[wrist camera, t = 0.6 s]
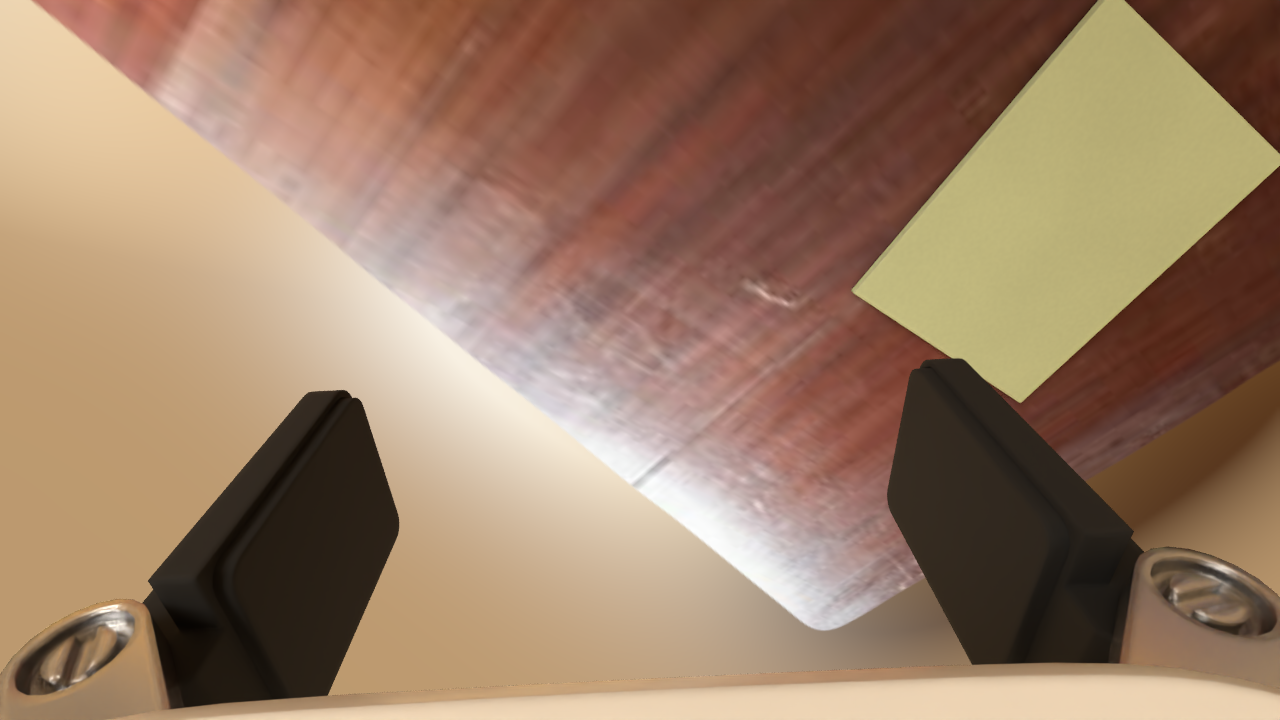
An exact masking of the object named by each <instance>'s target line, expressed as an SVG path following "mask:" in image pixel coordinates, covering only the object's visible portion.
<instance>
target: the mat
mask: <svg viewBox="0 0 1280 720" xmlns="http://www.w3.org/2000/svg"><path fill="white" fill-rule="evenodd" d="M1279 166H1280V154H1279V153H1278V152H1277V151H1276V150H1275V149H1274V148H1273V147H1272V146H1271V145H1270V144H1269V143H1268V142H1267V141H1266V140H1265V139H1264V138H1263V137H1262V136H1261V135H1260V134H1259V133H1258V132H1257V131H1256V130H1255V129H1254V128H1253V127H1252V126H1251V125H1250V124H1249V123H1248V122H1247V121H1246V120H1245V119H1244V118H1243V117H1242V116H1241V115H1240V114H1239V113H1238V112H1237V111H1236V110H1235V109H1234V108H1233V107H1232V106H1231V105H1230V104H1229V103H1227V102H1226V101H1225V100H1224V99H1223V98H1222V97H1221V96H1220V95H1219V94H1218V93H1217V92H1216V91H1215V90H1214V89H1213V88H1212V87H1211V86H1210V85H1209V84H1208V83H1207V82H1206V81H1205V80H1204V79H1203V78H1202V77H1201V76H1200V75H1199V74H1198V73H1197V72H1196V71H1195V70H1194V69H1193V68H1192V67H1191V66H1190V65H1189V64H1188V63H1187V62H1186V61H1185V60H1184V59H1183V58H1182V57H1181V56H1180V55H1179V54H1178V53H1177V52H1176V51H1175V50H1174V49H1173V48H1172V47H1171V46H1170V45H1169V44H1168V43H1167V42H1166V41H1165V40H1164V39H1163V38H1162V37H1161V36H1160V35H1159V34H1158V33H1157V32H1156V31H1155V30H1154V29H1153V28H1152V27H1151V26H1150V25H1149V24H1148V23H1147V22H1146V21H1145V20H1144V19H1143V18H1142V17H1141V16H1140V15H1139V14H1138V13H1137V12H1136V11H1135V10H1134V9H1133V8H1132V7H1131V6H1130V5H1129V4H1128V3H1126V2H1125V1H1124V0H1098V1H1097V2H1096V3H1095V5H1094V6H1093V7H1092V8H1091V9H1090V10H1089V12H1088V13H1087V14H1086V15H1085V16H1084V17H1083V19H1082V20H1081V21H1080V22H1079V23H1078V25H1077V26H1076V27H1075V28H1074V29H1073V30H1072V32H1071V33H1070V34H1069V35H1068V36H1067V37H1066V39H1065V40H1064V41H1063V42H1062V43H1061V44H1060V46H1059V47H1058V48H1057V49H1056V50H1055V51H1054V53H1053V54H1052V55H1051V56H1050V57H1049V59H1048V60H1047V61H1046V62H1045V63H1044V64H1043V66H1042V67H1041V68H1040V69H1039V70H1038V71H1037V73H1036V74H1035V75H1034V76H1033V77H1032V78H1031V80H1030V81H1029V82H1028V83H1027V84H1026V86H1025V87H1024V88H1023V89H1022V90H1021V91H1020V93H1019V94H1018V95H1017V96H1016V97H1015V98H1014V100H1013V101H1012V102H1011V103H1010V104H1009V105H1008V107H1007V108H1006V109H1005V110H1004V111H1003V113H1002V114H1001V115H1000V116H999V117H998V118H997V120H996V121H995V122H994V123H993V124H992V125H991V127H990V128H989V129H988V130H987V131H986V132H985V134H984V135H983V136H982V137H981V138H980V140H979V141H978V142H977V143H976V144H975V145H974V147H973V148H972V149H971V150H970V151H969V152H968V154H967V155H966V156H965V157H964V158H963V159H962V161H961V162H960V163H959V164H958V165H957V166H956V168H955V169H954V170H953V171H952V172H951V174H950V175H949V176H948V177H947V178H946V179H945V181H944V182H943V183H942V184H941V185H940V186H939V188H938V189H937V190H936V191H935V192H934V193H933V195H932V196H931V197H930V198H929V199H928V201H927V202H926V203H925V204H924V205H923V206H922V208H921V209H920V210H919V211H918V212H917V213H916V215H915V216H914V217H913V218H912V219H911V220H910V222H909V223H908V224H907V225H906V226H905V228H904V229H903V230H902V231H901V232H900V233H899V235H898V236H897V237H896V238H895V239H894V240H893V242H892V243H891V244H890V245H889V246H888V247H887V249H886V250H885V251H884V252H883V253H882V254H881V256H880V257H879V258H878V259H877V260H876V262H875V263H874V264H873V265H872V266H871V267H870V269H869V270H868V271H867V272H866V273H865V274H864V276H863V277H862V278H861V279H860V280H859V281H858V283H857V284H856V285H855V286H854V287H853V289H852V290H851V291H852V292H853V293H854V294H855V295H857V296H858V297H860V298H861V299H863V300H864V301H866V302H867V303H869V304H870V305H872V306H873V307H875V308H876V309H878V310H879V311H881V312H883V313H884V314H886V315H887V316H889V317H890V318H892V319H893V320H895V321H896V322H898V323H899V324H901V325H902V326H904V327H905V328H907V329H908V330H910V331H911V332H913V333H914V334H916V335H917V336H919V337H920V338H922V339H923V340H925V341H927V342H928V343H930V344H931V345H933V346H934V347H936V348H937V349H939V350H940V351H942V352H943V353H945V354H946V355H948V356H949V357H951V358H962V359H964V360H965V361H966V362H967V363H968V364H969V365H970V366H971V367H972V368H973V369H974V370H975V371H976V372H977V373H978V374H979V375H980V376H981V377H982V378H983V379H984V380H986V381H987V382H989V383H990V384H992V385H993V386H995V387H996V388H998V389H999V390H1001V391H1002V392H1004V393H1005V394H1007V395H1008V396H1010V397H1011V398H1013V399H1015V400H1016V401H1018V402H1019V403H1021V402H1022V401H1023V400H1025V399H1026V398H1027V397H1028V396H1029V395H1030V394H1031V393H1032V392H1033V391H1034V390H1035V389H1037V388H1038V387H1039V386H1040V385H1041V384H1042V383H1043V382H1044V381H1045V380H1046V379H1047V378H1049V377H1050V376H1051V375H1052V374H1053V373H1054V372H1055V371H1056V370H1057V369H1058V368H1059V367H1061V366H1062V365H1063V364H1064V363H1065V362H1066V361H1067V360H1068V359H1069V358H1070V357H1071V356H1073V355H1074V354H1075V353H1076V352H1077V351H1078V350H1079V349H1080V348H1081V347H1082V346H1083V345H1085V344H1086V343H1087V342H1088V341H1089V340H1090V339H1091V338H1092V337H1093V336H1094V335H1095V334H1097V333H1098V332H1099V331H1100V330H1101V329H1102V328H1103V327H1104V326H1105V325H1106V324H1107V323H1109V322H1110V321H1111V320H1112V319H1113V318H1114V317H1115V316H1116V315H1117V314H1118V313H1119V312H1121V311H1122V310H1123V309H1124V308H1125V307H1126V306H1127V305H1128V304H1129V303H1130V302H1131V301H1133V300H1134V299H1135V298H1136V297H1137V296H1138V295H1139V294H1140V293H1141V292H1142V291H1143V290H1144V289H1146V288H1147V287H1148V286H1149V285H1150V284H1151V283H1152V282H1153V281H1154V280H1155V279H1156V278H1158V277H1159V276H1160V275H1161V274H1162V273H1163V272H1164V271H1165V270H1166V269H1167V268H1168V267H1170V266H1171V265H1172V264H1173V263H1174V262H1175V261H1176V260H1177V259H1178V258H1179V257H1180V256H1182V255H1183V254H1184V253H1185V252H1186V251H1187V250H1188V249H1189V248H1190V247H1191V246H1192V245H1194V244H1195V243H1196V242H1197V241H1198V240H1199V239H1200V238H1201V237H1202V236H1203V235H1204V234H1206V233H1207V232H1208V231H1209V230H1210V229H1211V228H1212V227H1213V226H1214V225H1215V224H1216V223H1218V222H1219V221H1220V220H1221V219H1222V218H1223V217H1224V216H1225V215H1226V214H1227V213H1228V212H1230V211H1231V210H1232V209H1233V208H1234V207H1235V206H1236V205H1237V204H1238V203H1239V202H1240V201H1242V200H1243V199H1244V198H1245V197H1246V196H1247V195H1248V194H1249V193H1250V192H1251V191H1252V190H1254V189H1255V188H1256V187H1257V186H1258V185H1259V184H1260V183H1261V182H1262V181H1263V180H1264V179H1266V178H1267V177H1268V176H1269V175H1270V174H1271V173H1272V172H1273V171H1274V170H1275V169H1276V168H1278V167H1279Z"/></svg>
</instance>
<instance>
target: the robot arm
mask: <svg viewBox="0 0 1280 720" xmlns="http://www.w3.org/2000/svg"><path fill="white" fill-rule="evenodd" d="M887 499H888V505H889V509H890V511H891V514H892V515H893V517H894V519H895V521H896V523H897V525H898V527H899V529H900V530H901V532H902V534H903V536H904V538H905V540H906V542H907V544H908V545H909V547H910V549H911V551H912V553H913V555H914V557H915V558H916V560H917V562H918V564H919V566H920V568H921V570H922V572H923V573H924V575H925V577H926V579H927V581H928V583H929V585H930V587H931V588H932V590H933V592H934V594H935V596H936V598H937V599H938V602H939V603H940V605H941V607H942V609H943V611H944V613H945V615H946V617H947V618H948V620H949V622H950V624H951V626H952V628H953V630H954V631H955V633H956V635H957V637H958V639H959V641H960V643H961V645H962V646H963V648H964V650H965V652H966V654H967V656H968V658H969V659H970V661H971V663H972V665H947V666H919V667H898V668H873V669H851V670H830V671H829V670H828V671H806V672H805V671H804V672H781V673H760V674H738V675H737V674H736V675H715V676H696V677H674V678H653V679H632V680H612V681H592V682H572V683H552V684H532V685H515V686H514V685H513V686H495V687H478V688H477V687H476V688H459V689H440V690H421V691H404V692H386V693H367V694H348V695H332V696H328V693H329V691H330V689H331V687H332V684H333V682H334V680H335V677H336V675H337V673H338V671H339V668H340V666H341V664H342V661H343V659H344V657H345V655H346V652H347V650H348V648H349V646H350V643H351V641H352V639H353V636H354V634H355V632H356V630H357V627H358V625H359V623H360V620H361V618H362V616H363V614H364V611H365V609H366V607H367V604H368V602H369V600H370V597H371V595H372V593H373V591H374V589H375V586H376V584H377V582H378V579H379V577H380V575H381V573H382V570H383V568H384V566H385V564H386V561H387V559H388V556H389V554H390V552H391V550H392V548H393V545H394V543H395V541H396V538H397V536H398V531H399V517H398V513H397V510H396V507H395V504H394V501H393V497H392V494H391V491H390V488H389V485H388V482H387V479H386V476H385V472H384V469H383V466H382V463H381V460H380V457H379V454H378V451H377V448H376V444H375V442H374V438H373V435H372V432H371V429H370V426H369V423H368V420H367V417H366V413H365V410H364V407H363V405H362V402H361V401H360V400H359V399H358V398H352V397H351V395H350V394H349V393H348V392H347V391H345V390H336V391H317V392H309V393H307V394H306V395H305V396H304V397H303V398H302V399H301V400H300V402H299V403H298V404H297V405H296V406H295V408H294V409H293V410H292V411H291V412H290V413H289V415H288V416H287V417H286V418H285V419H284V421H283V422H282V423H281V424H280V425H279V426H278V428H277V429H276V430H275V431H274V432H273V433H272V435H271V436H270V437H269V438H268V439H267V441H266V442H265V443H264V444H263V445H262V447H261V448H260V449H259V450H258V451H257V452H256V454H255V455H254V456H253V457H252V458H251V460H250V461H249V462H248V463H247V464H246V465H245V467H244V468H243V469H242V470H241V471H240V472H239V474H238V475H237V476H236V477H235V478H234V480H233V481H232V482H231V483H230V484H229V486H228V487H227V488H226V489H225V490H224V491H223V493H222V494H221V495H220V496H219V497H218V498H217V500H216V501H215V502H214V503H213V504H212V506H211V507H210V508H209V509H208V510H207V511H206V513H205V514H204V515H203V516H202V517H201V519H200V520H199V521H198V522H197V523H196V525H195V526H194V527H193V528H192V529H191V531H190V532H189V533H188V534H187V535H186V536H185V538H184V539H183V540H182V541H181V542H180V543H179V545H178V546H177V547H176V548H175V549H174V550H173V552H172V553H171V554H170V555H169V556H168V558H167V559H166V560H165V561H164V562H163V563H162V565H161V566H160V567H159V568H158V569H157V571H156V572H155V573H154V574H153V575H152V576H151V578H150V579H149V580H148V582H149V583H150V585H151V586H152V588H153V591H152V592H151V593H150V594H149V596H148V597H147V598H146V599H145V600H144V602H143V603H140V602H137V601H135V600H131V599H115V600H110V601H106V602H101V603H96V604H94V605H91V606H89V607H86V608H84V609H81V610H78V611H75V612H74V613H72V614H70V615H68V616H66V617H64V618H62V619H61V620H59V621H57V622H55V623H53V624H51V625H50V626H49V627H47V628H46V629H44V630H43V631H42V632H40V633H39V634H37V635H36V636H35V637H33V638H32V639H30V641H28V642H27V643H26V644H25V645H24V646H23V647H22V648H21V649H20V650H19V651H18V652H17V653H16V654H15V655H14V656H13V657H12V658H11V660H10V661H9V662H8V664H7V665H6V667H5V668H4V669H3V671H2V672H1V674H0V720H1280V597H1279V596H1278V595H1277V594H1276V593H1275V592H1274V591H1273V590H1271V589H1270V588H1269V587H1268V586H1267V585H1265V584H1264V583H1263V582H1262V581H1260V580H1259V579H1258V578H1256V577H1255V576H1253V575H1251V574H1249V573H1248V572H1246V571H1244V570H1243V569H1241V568H1239V567H1238V566H1235V565H1234V564H1231V563H1229V562H1227V561H1224V560H1222V559H1219V558H1217V557H1215V556H1212V555H1209V554H1206V553H1202V552H1198V551H1195V550H1191V549H1184V548H1176V547H1162V548H1153V549H1150V550H1148V551H1146V552H1144V551H1142V549H1141V548H1140V547H1139V546H1138V545H1137V544H1136V543H1135V542H1134V541H1133V540H1132V539H1131V536H1132V534H1133V532H1134V531H1133V530H1132V529H1131V528H1130V527H1129V526H1128V525H1127V524H1126V523H1125V522H1124V521H1123V520H1122V519H1121V518H1120V517H1119V516H1118V515H1117V514H1116V513H1115V512H1114V511H1113V510H1112V509H1111V508H1110V507H1109V506H1108V505H1107V504H1106V503H1105V502H1104V500H1103V499H1102V498H1101V497H1100V496H1099V495H1098V494H1097V493H1096V492H1095V491H1093V489H1092V488H1091V487H1090V486H1089V485H1088V484H1087V483H1086V482H1085V481H1084V480H1083V479H1082V478H1081V477H1080V476H1079V475H1078V474H1077V473H1076V472H1075V471H1074V470H1073V469H1072V468H1071V467H1070V466H1069V465H1068V464H1067V463H1066V462H1065V461H1064V460H1063V459H1062V458H1061V457H1060V456H1059V455H1058V454H1057V453H1056V452H1055V451H1054V450H1053V449H1052V448H1051V447H1050V446H1049V445H1048V444H1047V443H1046V442H1045V441H1044V440H1043V439H1042V438H1041V437H1040V436H1039V435H1038V434H1037V433H1036V432H1035V431H1034V429H1033V428H1032V427H1031V426H1030V425H1029V424H1028V423H1027V422H1026V421H1025V420H1024V419H1023V418H1022V417H1021V416H1020V415H1019V414H1018V413H1017V412H1016V411H1015V410H1014V409H1013V408H1012V407H1011V406H1010V405H1009V404H1008V403H1007V402H1006V401H1005V400H1004V399H1003V398H1002V397H1001V396H1000V395H999V394H998V393H997V392H996V391H995V390H994V389H993V388H992V387H991V386H990V385H989V384H988V383H987V382H986V381H985V380H984V379H983V378H982V377H981V376H980V375H979V374H978V373H977V372H976V371H975V370H974V369H973V368H972V367H971V366H970V365H969V364H968V363H967V362H966V361H965V360H964V359H962V358H952V359H933V360H925V361H924V362H923V363H922V365H921V366H920V369H914V370H912V372H911V374H910V377H909V382H908V387H907V392H906V397H905V403H904V408H903V413H902V418H901V423H900V428H899V434H898V439H897V444H896V449H895V454H894V460H893V465H892V470H891V475H890V480H889V485H888V492H887Z"/></svg>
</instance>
